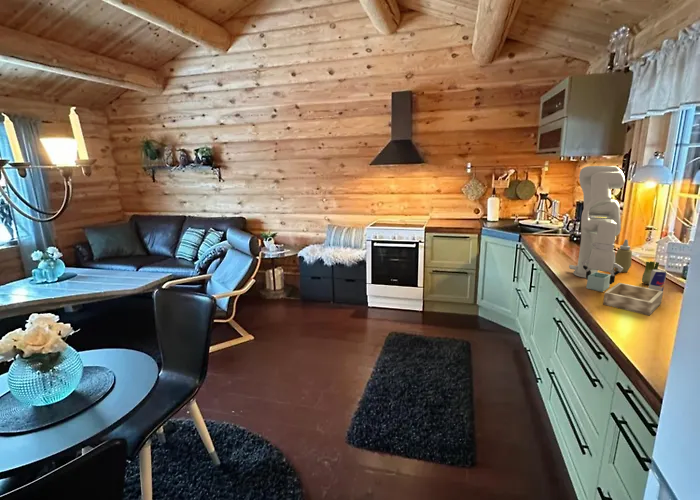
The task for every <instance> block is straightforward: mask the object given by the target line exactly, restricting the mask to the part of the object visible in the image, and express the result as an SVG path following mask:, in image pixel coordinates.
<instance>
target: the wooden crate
mask: <svg viewBox="0 0 700 500" xmlns="http://www.w3.org/2000/svg"><path fill="white" fill-rule="evenodd" d="M663 295H664V290H663V291H659V290H654V289H649V287H644V286H639V285H633V284H628V283H624V282H623V283H622V282H618V283H616V284H615V285H613V286H612V287H610V288H608V289H607V290H605V291H604V295H603V296H604V297H603V302H602V305H604V306H608V307H611V306H612V308H615V307H616V309H619V308H620V309H621V310H624V311H628V312H632V313H637V314H641V315H646V316H649V317H650V316H651V315H652V314H653V312H655V311H656V309H658V307H659V306H660V305H661V304H662V301H663Z"/></svg>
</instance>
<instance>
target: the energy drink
mask: <svg viewBox="0 0 700 500" xmlns="http://www.w3.org/2000/svg"><path fill="white" fill-rule="evenodd" d="M666 278H667V271H666V270H663V269H660V268H658V269H653V270H652V271H651V277H650V282H649V285H648V288H649V289H654V290H659V291H663V292H664V288H665V283H666V280H667V279H666Z"/></svg>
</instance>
